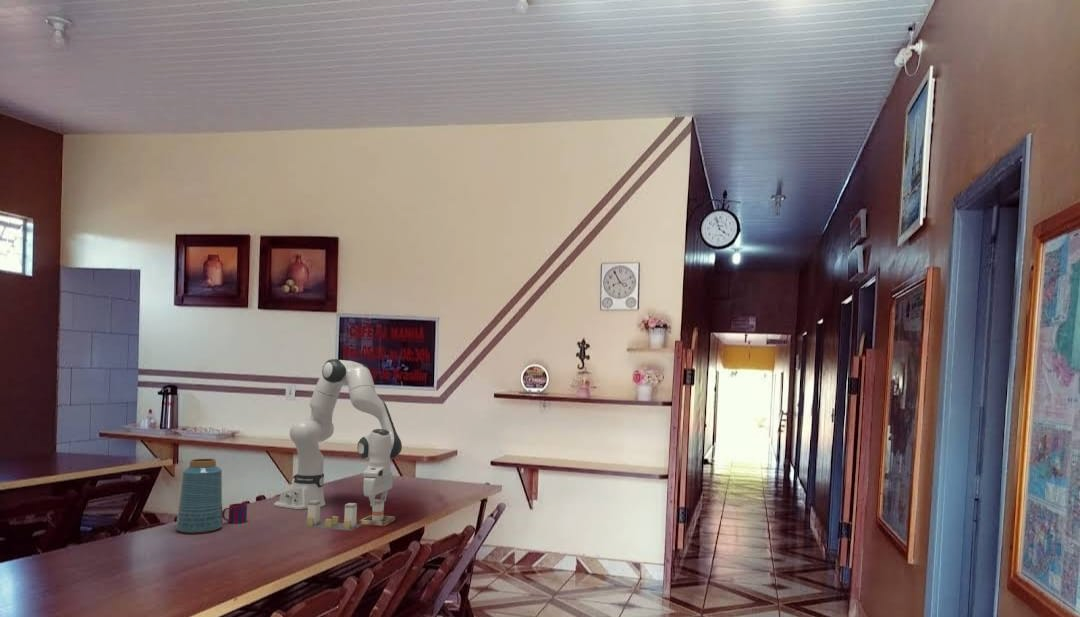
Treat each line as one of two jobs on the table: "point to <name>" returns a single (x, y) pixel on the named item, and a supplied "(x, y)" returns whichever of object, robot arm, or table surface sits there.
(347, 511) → the fuse right
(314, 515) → the block
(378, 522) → the tray
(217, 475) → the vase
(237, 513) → the mug
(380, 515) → the fuse marked
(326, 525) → the fuse board
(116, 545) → the table surface
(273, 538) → the table surface
